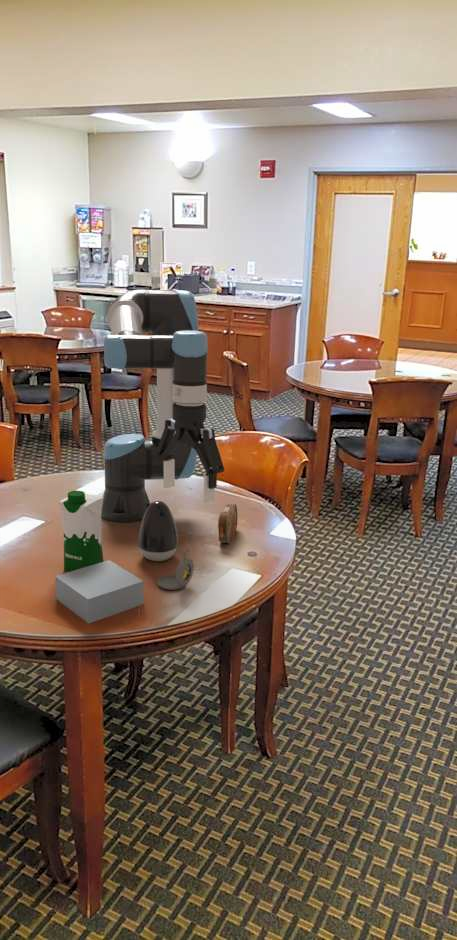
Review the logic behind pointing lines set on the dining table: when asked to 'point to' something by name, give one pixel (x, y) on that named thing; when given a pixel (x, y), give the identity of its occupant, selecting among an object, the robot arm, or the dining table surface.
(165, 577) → the pocket watch
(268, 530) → the dining table surface
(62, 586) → the base block
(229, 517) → the tin
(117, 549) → the dining table surface
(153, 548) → the black glossy egg shape
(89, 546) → the milk carton
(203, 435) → the robot arm
